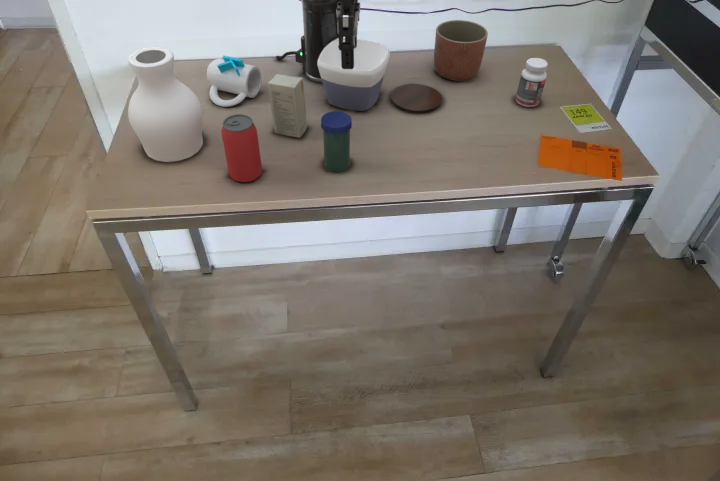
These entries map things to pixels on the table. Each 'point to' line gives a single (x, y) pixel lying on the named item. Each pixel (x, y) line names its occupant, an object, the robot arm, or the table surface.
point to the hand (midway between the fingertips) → (349, 57)
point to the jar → (336, 151)
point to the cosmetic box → (288, 105)
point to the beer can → (241, 148)
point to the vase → (163, 108)
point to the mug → (233, 80)
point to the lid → (336, 122)
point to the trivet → (416, 98)
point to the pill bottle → (532, 82)
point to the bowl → (353, 74)
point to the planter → (459, 49)
